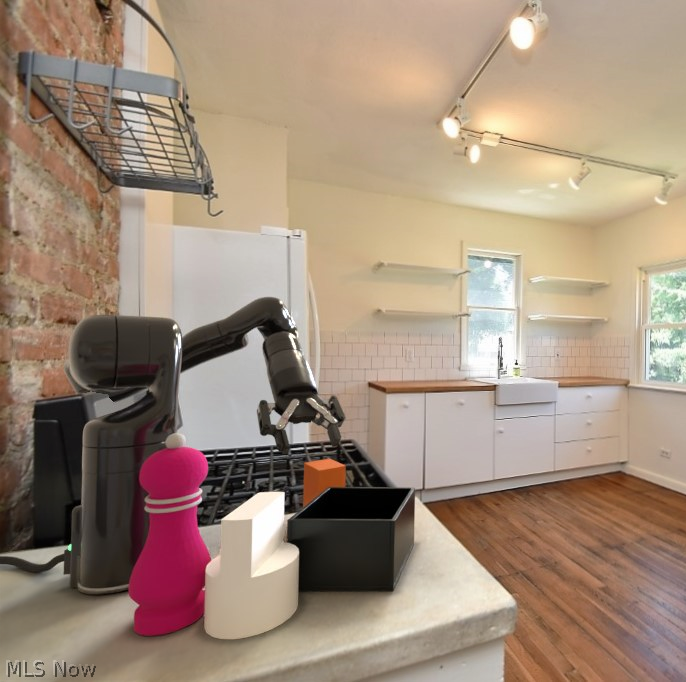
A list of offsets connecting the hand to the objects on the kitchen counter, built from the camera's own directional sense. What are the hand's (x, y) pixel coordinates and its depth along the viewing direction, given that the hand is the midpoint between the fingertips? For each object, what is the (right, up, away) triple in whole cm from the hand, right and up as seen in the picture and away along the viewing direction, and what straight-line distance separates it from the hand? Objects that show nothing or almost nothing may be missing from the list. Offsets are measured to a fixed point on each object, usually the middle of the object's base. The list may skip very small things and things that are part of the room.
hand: (312, 447), depth 79 cm
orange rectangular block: (+4, -12, -4) cm, 13 cm away
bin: (+14, -12, -18) cm, 25 cm away
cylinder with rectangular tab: (+6, -12, -29) cm, 32 cm away
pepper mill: (-2, -12, -30) cm, 32 cm away
